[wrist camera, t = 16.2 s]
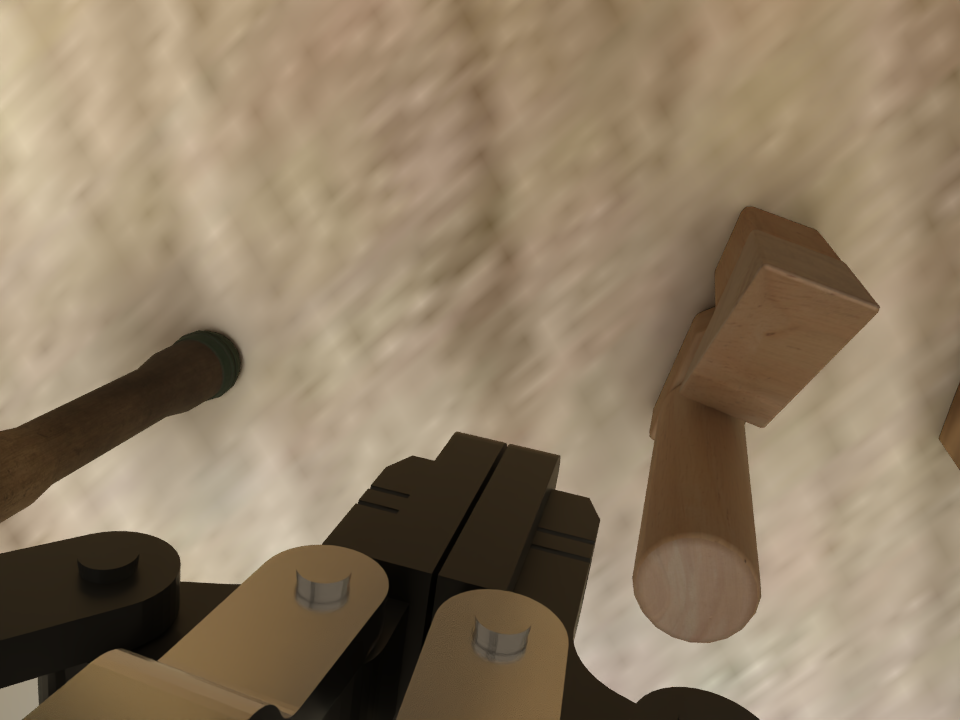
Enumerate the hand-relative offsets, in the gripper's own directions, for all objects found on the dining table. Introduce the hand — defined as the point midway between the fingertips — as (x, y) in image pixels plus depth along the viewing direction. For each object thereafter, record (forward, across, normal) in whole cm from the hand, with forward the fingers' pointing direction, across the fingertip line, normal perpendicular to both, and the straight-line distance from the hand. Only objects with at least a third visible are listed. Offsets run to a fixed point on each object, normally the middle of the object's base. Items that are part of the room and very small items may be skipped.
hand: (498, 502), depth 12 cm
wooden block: (+30, -5, +4) cm, 30 cm away
